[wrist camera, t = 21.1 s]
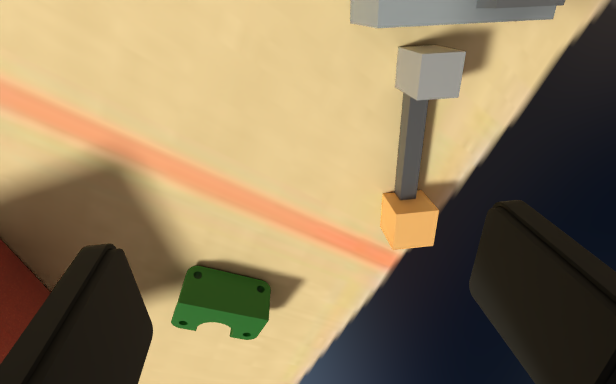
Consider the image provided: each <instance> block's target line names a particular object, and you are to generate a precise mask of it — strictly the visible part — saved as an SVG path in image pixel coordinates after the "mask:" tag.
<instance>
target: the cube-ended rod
mask: <svg viewBox="0 0 616 384" xmlns="http://www.w3.org/2000/svg"><path fill="white" fill-rule="evenodd" d="M465 55H466V51H462V50H457V49H452V48H448V47H443V46H439V45H425V46H408V47H398V56H397V68H396V81H395V87H396V88H397V89H399V90H400V91H402V92H403V103H402V114H401V125H400V136H399V147H398V158H397V169H396V180H395V191H394V193H383V197H382V211H381V224H380V227H381V229H382V231H383V233H384V234H385V236H386V238H387V240H388V242H389V244H390V246H391V247H392V249H393V250H397V249H406V248H416V247H424V246H433V243H434V237H435V231H436V225H437V219H438V213H439V210H438V209H437V208H436V206H435V205H434V204H433V203H432V202H431V201H430V199H429V198H428V197H427V196H426V195H425V194H424V193H423V191H422V190H417V186H418V179H419V171H420V163H421V155H422V147H423V139H424V131H425V123H426V115H427V107H428V100H431V99H445V98H458V97H459V91H460V85H461V79H462V73H463V67H464V61H465Z"/></svg>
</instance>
